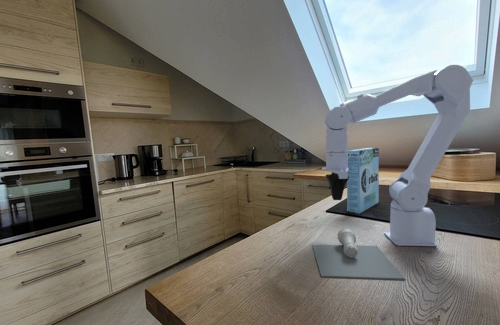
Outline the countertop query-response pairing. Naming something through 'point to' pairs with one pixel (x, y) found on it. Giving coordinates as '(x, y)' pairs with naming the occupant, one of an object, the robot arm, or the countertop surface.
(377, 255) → the mat
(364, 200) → the gum box
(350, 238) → the rook chess piece
